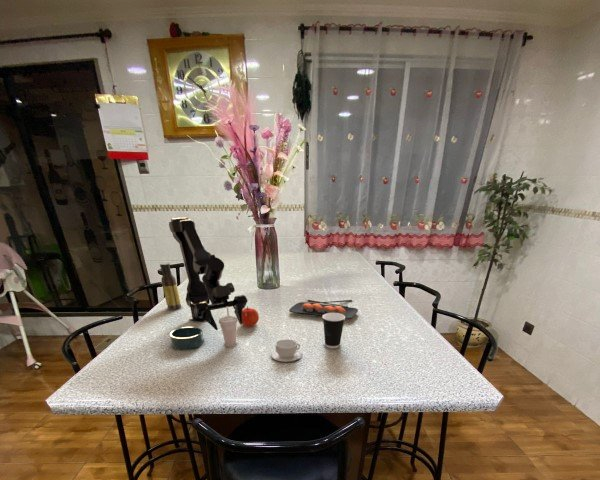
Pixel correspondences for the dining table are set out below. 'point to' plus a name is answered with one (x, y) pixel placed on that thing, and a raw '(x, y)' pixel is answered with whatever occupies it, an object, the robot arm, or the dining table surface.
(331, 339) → the dixie cup
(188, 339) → the bowl
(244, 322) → the apple
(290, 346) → the teacup
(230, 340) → the smoothie
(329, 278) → the dining table surface
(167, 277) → the sauce bottle
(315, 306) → the sushi plate
